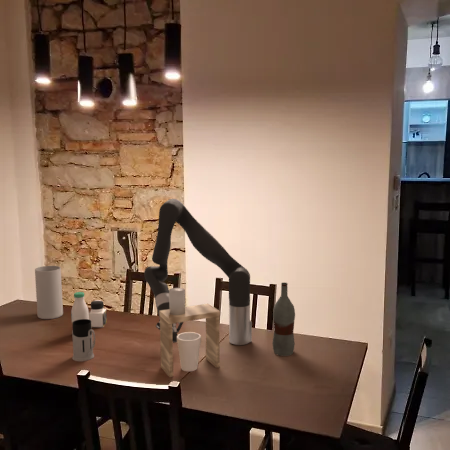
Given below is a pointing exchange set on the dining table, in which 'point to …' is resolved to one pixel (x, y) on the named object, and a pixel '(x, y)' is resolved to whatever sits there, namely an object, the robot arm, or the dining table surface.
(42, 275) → the cylinder vase
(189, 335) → the foam cup
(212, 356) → the beige hollow frame
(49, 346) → the dining table surface
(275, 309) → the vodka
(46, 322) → the dining table surface
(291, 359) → the dining table surface
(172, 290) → the beige upright cylinder
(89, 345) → the glass holder
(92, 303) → the medicine bottle
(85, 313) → the milk bottle
